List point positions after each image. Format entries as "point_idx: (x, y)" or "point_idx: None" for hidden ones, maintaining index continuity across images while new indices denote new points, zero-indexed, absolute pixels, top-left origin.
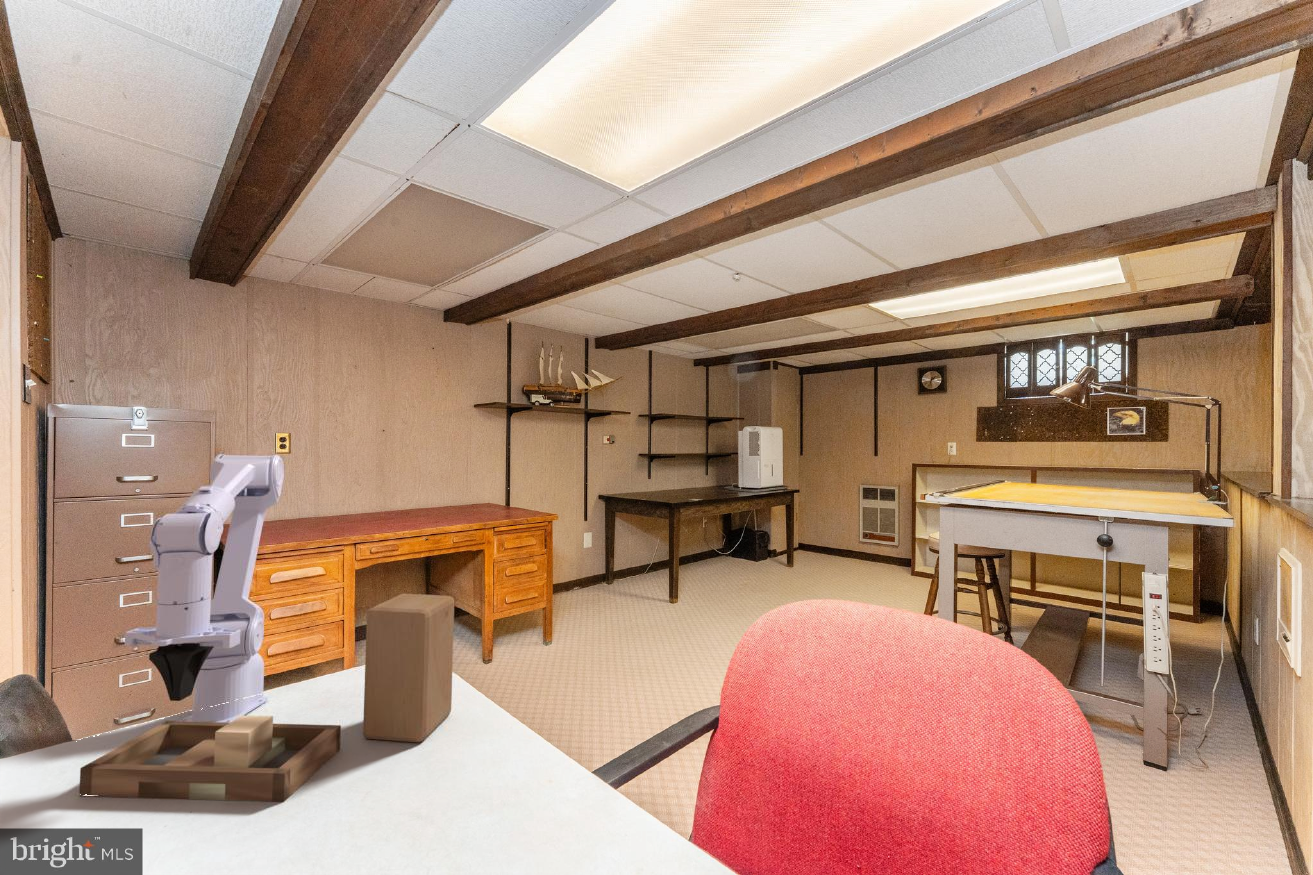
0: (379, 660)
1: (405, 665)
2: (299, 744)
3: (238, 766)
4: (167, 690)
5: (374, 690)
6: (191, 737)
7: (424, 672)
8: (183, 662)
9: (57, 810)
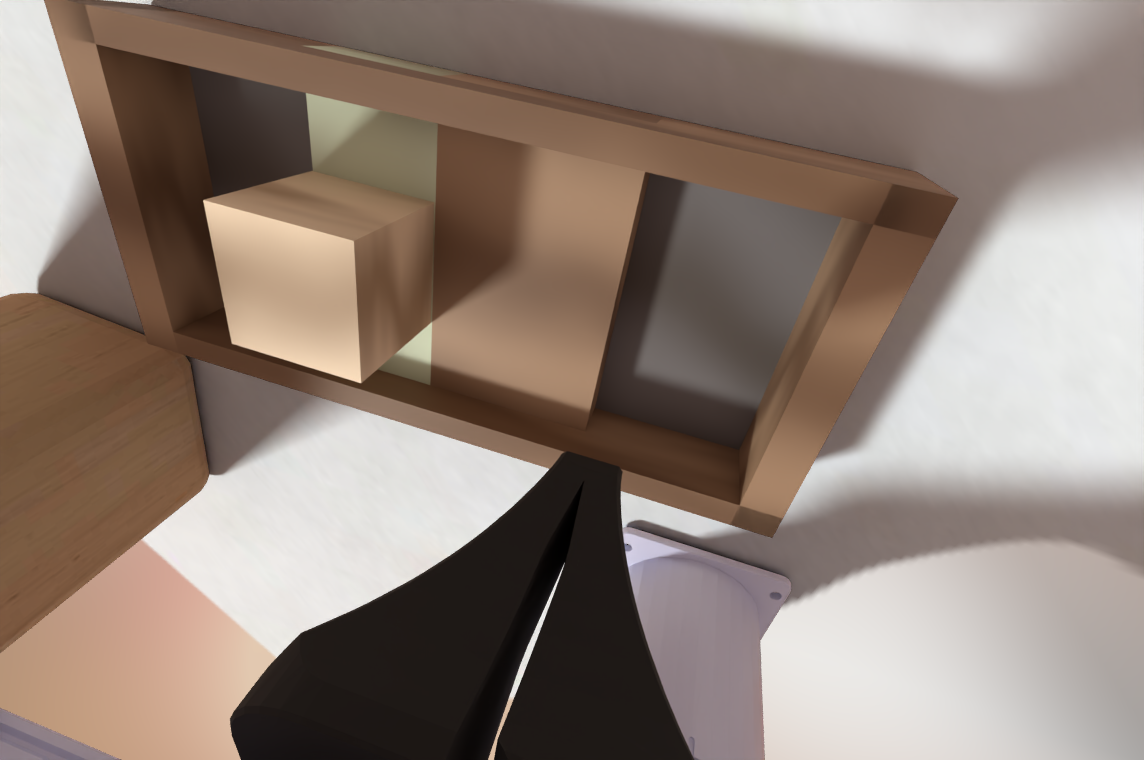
0: None
1: None
2: None
3: (344, 179)
4: (612, 503)
5: None
6: (656, 447)
7: None
8: (342, 618)
9: (960, 66)
